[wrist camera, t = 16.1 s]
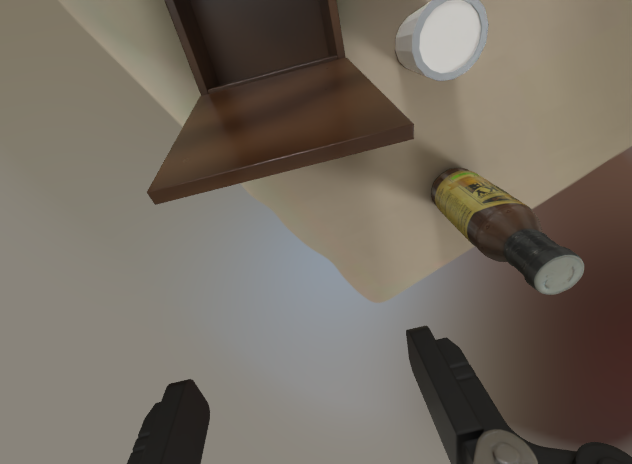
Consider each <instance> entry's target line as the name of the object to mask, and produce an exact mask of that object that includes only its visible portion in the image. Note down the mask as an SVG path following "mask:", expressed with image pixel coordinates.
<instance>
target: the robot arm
mask: <svg viewBox="0 0 632 464" xmlns="http://www.w3.org/2000/svg"><path fill="white" fill-rule="evenodd" d="M406 336H407V344H408V353H409V360H410V364H411V367H412V371H413V373H414V376H415V378H416V381H417V383H418V386H419V388H420V390H421V393H422V395H423V398H424V400H425V402H426V405H427V407H428V409H429V412H430V414H431V417H432V419H433V422H434V424H435V426H436V429H437V431H438V434H439V436H440V438H441V441H442V443H443V446H444V448H445V450H446V453H447V455H448V458H449V460H450V462H451V464H632V457H631V456H629V455H628V454H627V453H625V452H623V451H622V450H620V449H618V448H616V447H614V446H611V445H608V444H604V443H599V442H590V443H586V444H584V445H582V446H581V447H580V448H579V449H578V451H577V452H576V451H569V450H561V449H554V448H547V447H541V446H538V445H535V444H532V443H530V442H528V441H526V440H525V439H523V438H521V437H520V436H519V435H517V434H516V433H515V432H514V431H513V430H511V428H510V427H509V426H508V425H507V423H506V422H505V421H504V419H503V418H502V416H501V414H500V413H499V411H498V409H497V408H496V406H495V404H494V403H493V401H492V400H491V398H490V396H489V395H488V393H487V392H486V390H485V388H484V387H483V385H482V383H481V382H480V380H479V378H478V377H477V376H476V374H475V372H474V370H473V369H472V367H471V366H470V365H469V363H468V361H467V359H466V357H465V356H464V354H463V353H462V351H461V349H460V348H459V347H458V346H457V345H455V344H454V343H453V342H451V341H450V340H449V339H448V338H442V339H438V340H435V338H434V336H433V335H432V333H431V331H430V329H429V328H428V326H423V327H418V328H413V329H409V330H406ZM209 420H210V410H209V405H208V402H207V401H206V399H205V398H204V396H203V395H202V393H201V392H200V390H199V389H198V387H197V386H196V384H195V382H194V381H193V380H191V379H189V380H184V381H180V382H176V383H171V384H169V385H168V386H167V388H166V390H165V393H164V396H163V399H162V401H161V402H159V403H156V404H155V405H154V406H153V408H152V409H151V411H150V412H149V413H148V415H147V416H146V418H145V420H144V422H143V424H142V427H141V430H140V432H139V434H138V439H137V440H136V442H135V445H134V447H133V453H131V455H130V458H129V460H128V463H127V464H200V463H201V459H202V454H203V449H204V444H205V439H206V435H207V430H208V425H209Z"/></svg>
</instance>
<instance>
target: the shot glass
mask: <svg viewBox="0 0 632 464" xmlns="http://www.w3.org/2000/svg"><path fill="white" fill-rule="evenodd" d="M487 32H488V20H487V15H486V10H485V7H484V6H483V5H482V3H481V2H480V1H479V0H432V1H430V2H429V3H427V4H426V5H424V6H423V7H421V8H420V9H418V10H417V11H415V12H414V13H412V14H411V15H409V16H408V17H407V18H406V19H405V20H404V22H403V23H402V24H401V26H400V27H399V30H398V33H397V35H396V38H395V52H396V54H397V57H398V60H399V62H400V63H401V64H402V65H403V66H404V67H405V68H407V69H409V70H412V71H414V72H417V73H419V74H421V75H424V76H426V77H429V78H432V79H434V80H437V81H444V80H452V79H455V78H456V77H458V76H460V75H462V74H464V73H465V72H467V71H468V70H469V69H470V68H471V66H472V65H473V64H474V63H475V62H476V61H477V60H478V58H479V56H480V54H481V52H482V50H483V48H484V46H485V43H486V39H487Z"/></svg>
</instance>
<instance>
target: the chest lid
mask: <svg viewBox="0 0 632 464" xmlns="http://www.w3.org/2000/svg"><path fill="white" fill-rule="evenodd" d="M411 139H414V124H413V123H412V122H411V121H410V120H409V119H408V118H407V117H406V116H405V115H404V114H403V113H402V112H401V111H400V110H399V109H398V108H397V107H396V106H395V105H394V104H393V103H392V102H391V101H390V100H389V99H388V98H387V97H386V96H385V95H384V94H383V93H382V92H381V91H380V90H379V89H378V88H377V87H376V86H375V85H374V84H373V83H372V82H371V81H370V80H369V79H368V78H367V77H366V76H365V75H364V74H363V73H362V72H361V71H360V70H359V69H358V68H357V67H356V66H355V65H354V64H353V63H352V62H351V61H350V60H349V59H348V58H347V57H345V58H341V59H338V60H334V61H330V62H327V63H323V64H319V65H315V66H312V67H308V68H304V69H300V70H297V71H293V72H289V73H285V74H282V75H278V76H274V77H270V78H267V79H263V80H259V81H255V82H252V83H248V84H244V85H240V86H237V87H233V88H229V89H226V90H222V91H218V92H214V93H211V94H207V95H203V96H200V97H199V99H198V101H197V103H196V105H195V106H194V108H193V110H192V112H191V114H190V115H189V117H188V119H187V121H186V123H185V124H184V126H183V128H182V130H181V132H180V134H179V135H178V137H177V139H176V141H175V142H174V144H173V146H172V148H171V150H170V152H169V153H168V155H167V157H166V159H165V160H164V162H163V164H162V166H161V168H160V170H159V171H158V173H157V175H156V177H155V179H154V181H153V182H152V184H151V186H150V188H149V189H148V191H147V193H148V195H149V196H150V198H151V199H152V201H153V202H154V204H160V203H164V202H168V201H172V200H176V199H179V198H183V197H187V196H191V195H195V194H199V193H203V192H207V191H211V190H215V189H219V188H223V187H227V186H231V185H234V184H238V183H242V182H246V181H250V180H254V179H258V178H262V177H266V176H270V175H274V174H278V173H282V172H286V171H289V170H293V169H297V168H301V167H305V166H309V165H313V164H317V163H321V162H325V161H329V160H333V159H337V158H340V157H344V156H348V155H352V154H356V153H360V152H364V151H368V150H372V149H376V148H380V147H384V146H388V145H391V144H395V143H399V142H403V141H407V140H411Z"/></svg>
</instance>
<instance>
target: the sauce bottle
mask: <svg viewBox="0 0 632 464" xmlns="http://www.w3.org/2000/svg"><path fill="white" fill-rule="evenodd" d="M431 195H432V196H431V197H432V201H433V202H434V203H435V205H436V206H437V207H438V209H439V210H440V211H441V212H442V213H443V214H444V215H445V216H446V217H447V218H448V220H449V221H450V222H451V223H452V224H453V225H454V226H455V227H456V228H457V229H458V230H459V231H460V232H461V233H462V234H463V235H464V236H465V237H466V238H467V239H468V240H469V241H470V242H471V243H472V244H473V245H474V246H476V247H477V248H478V249H479V250H480V251H481V252H482V253H483V254H484V255H485V256H487V257H489V258H491V259H493V260H496V261H499V262H508V263H509V264H511V265H512V266H514V267H515V268H516V269H518V271H520V272H521V273H522V274H523V275H524V277H525V280H526V282H527V283H528V284H529V285H531V286H532V287H533V288H534V289H536V290H537V291H539V292H540V293H543V294H550V295H551V294H557V293H560V292H563V291H564V290H567V289H568V288H570V287H572V286H573V285H574V284H575V283H576V282H577V281H578V280H579V279H580V278H581V276H582V274H583V272H584V263H583V261H582V260H581V258H580V257H579V256H578V255H577V254H575V253H574V252H573V251H571V250H570V249H568V248H565V247H562V246H559V245H558V244H556V243H555V242H554V241H552V240H551V239H550V238H548V237H547V235H545V234H544V233H542V229H541V225H540V221H539V219H538V217H537V216H536V215H535V213H533V211H532V210H531V209H530V208H529V207H528V206H527V205H525V204H523V203H522V202H520V201H519V200H517V199H515V198H514V197H512V196H511V195H509V194H508V193H507V192H505V191H504V190H502V189H500V188H499V187H497V186H495V185H493V184H492V183H490V182H489V181H487V180H486V179H484V178H482V177H481V176H479V175H478V174H476V173H474V172H472V171H469V170H467V169H464V168H454V169H449V170H447V171H445V172H444V173H442V174H441V175H440V176H439V177H438V178H437V179H436V180H435V181H434V183H433V186H432V193H431Z"/></svg>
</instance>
